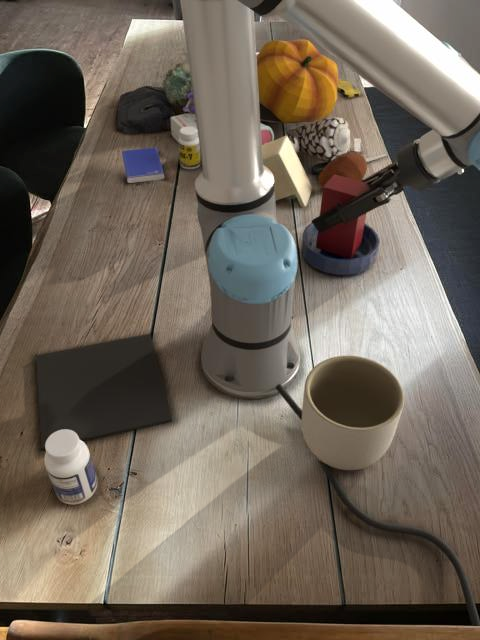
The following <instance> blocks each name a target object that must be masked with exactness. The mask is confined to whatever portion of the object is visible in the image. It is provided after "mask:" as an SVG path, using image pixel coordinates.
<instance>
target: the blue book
mask: <svg viewBox="0 0 480 640" xmlns="http://www.w3.org/2000/svg"><path fill="white" fill-rule="evenodd" d="M158 151H159V150H158V148H157V147H146V148H136V149H129V150H122V151H121V154H122V162H123V166H124V171H125V175H126V182H127V183H128V184H135V183H143V182H151V181H159V180H160V181H161V180H164V179H165V173H164V168H163V165H162V162H161V159H160V154H159V152H158Z"/></svg>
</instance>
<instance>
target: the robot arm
mask: <svg viewBox="0 0 480 640" xmlns="http://www.w3.org/2000/svg"><path fill="white" fill-rule="evenodd" d="M179 2H180V8H181V17H182V24H183V31H184V38H185V45H186V52H187V61H188V65H189V69H190V76H191V84H192V91H193V99H194V106H195V113H196V121H197V128H198V136H199V143H200V159H201V166H202V172H200V173H199V175H198V176H197V177H196V179H195V181H194V189H195V190H194V191H195V196H196V204H197V209H196V213H197V220H198V224H199V226H200V232H201V237H202V243H203V248H204V254H205V260H206V267H207V272H208V279H209V289H210V309H211V325H210V327H209V330H208V333H207V334H206V337H205V339H204V342H203V344H202V349H201V354H200V361H201V369H202V372H203V375H204V377H205V379H206V380H207V381H208V383H209V384H211V386H213V388H215V389H217V391H220V392H221V393H223V394H225V395H227V396H230V397H232V398H233V397H234V398H238V399H243V400H259V399H265V398H269V397H272V396H275V395H277V394H280V395H281V397H282V398H283V399H284V401H285V402H286V403H287V405H288V406H289V407H290V409H291V410H292V411H293V412H294V413H295V414H296V416H297V417H298V418H299V419H300V421H302V408H301V407H299V405H298V404H297V403H296V402H295V400H294V399H293V397H292V396H291V395H290V394H289V392H288V391H287V390H286V389H288V388H289V386H291V385H292V384H293V382H295V380H296V378H297V376H298V374H299V370H300V366H301V365H300V364H301V352H300V346H299V343H298V341H297V339H296V336H295V332H294V330H293V327H292V317H293V310H294V309H293V307H294V297H295V296H294V295H295V285H296V276H297V273H298V263H299V261H298V260H299V259H298V254H297V253H298V252H297V251H298V250H297V245H296V241H295V239H294V237H293V235H292V233H291V232H290V231H289V229H288V228H287V227H286V226H285V225H283V224H282V223H281V222H278V218H277V217H278V216H277V209H276V201H275V187H274V176H273V174H272V172H271V171H270V170H269V169H268V168H267V167H265V166H264V165H263V159H262V143H261V126H260V123H261V120H260V109H259V92H258V75H257V55H256V52H257V44H256V42H257V41H256V25H255V14H257V15H258V16H259V17H261V18H269V17H273V16H278V17H279V18H281V19H282V20H283V21H285V22H286V23H288V24H289V25H290V26H291V27H293V28H294V29H295V30H297V31H298V32H299V33H301V34H302V35H303V36H305V37H306V38H307V39H308V40H310V41H311V42H313V43H314V44H316V45H317V46H318V47H320V48H321V49H323V50H324V51H325V52H327V53H328V54H330V55H331V56H332V57H334V58H335V59H336V60H338V61H339V62H340V63H342V64H343V65H344V66H345V67H347V68H349V69H350V70H351V71H352V72H354V73H355V74H356V75H358V76H359V77H361V78H362V79H364V80H365V81H366V82H367V83H369V84H370V85H372V87H374V88H376V89H377V90H378V91H379V92H381V93H382V94H384V95H385V96H386V97H388V98H389V99H390V100H392V101H393V102H395V103H396V104H397V105H399V106H400V107H401V108H403V109H404V110H405V111H407V112H408V113H409V114H411V115H412V116H413V117H415V118H416V119H418V120H419V121H420V122H422V123H423V124H425V125H426V126H427V127H428V128H430V129H431V130H429V131H428V132H426V133H425V134H423V135H421V136H420V138H417V139H415V140H414V141H412V142H410V143H408V144H407V145H405V146H403V147H402V148H400V149H399V150H398V152H397V155H396V160H395V161H393V162H392V163H390V164H388V165H386V166H384V167H383V168H381V169H380V170H377V171H375V172H374V173H373V174H371V175H369V176H367V177H365V178H363V180H362V181H361V182H364V183H367V184H370V185H371V186H370V188H368V189H367V190H365V191H364V192H362V193H361V194H359V195H357V196H356V197H354V198H353V199H351V200H350V201H348V202H346V203H345V204H343V205H342V206H341V205H340V204H339V202H338V203H337V204H336V205H335V207H334V208H333V209H331V210H329V211H327V212H326V213H324V214H322V215H320V214H319V216H316V217H315V218H312V219H311V222H312V223H313V225H314V226H315V227H316V229H317V230H318V231H319V233H322V232H323V231H325V230H327V229H329V228H331V227H333V226H335V225H337V224H339V223H340V222H342V221H343V223H344V224H347V223H349V222H350V221H352V220H354V219H356V218H358V217H360V216H362V215H364V214H365V213H366V214H368V213H369V212H371V211H373V210H376V208H379V207H382V206H384V205H387V204H389V203H390V202H391V200H392V199H391V198H392V196H397V195H399V194H401V193H402V192H404V191H405V187H409V188H411V189H412V190H415V191H417V192H421V191H424V190H427V189H428V188H430V187H432V186H435V185H436V184H438V183H440V182H441V181H442V180H445V179H447V178H449V177H451V176H453V175H454V174H456V173H457V174H458V175H462V174H463V173H464V172H465V170H464V169H467V168H469V167H471V166H474V167H475V168H476V169H477V170H478V171H480V73H479V72H478V71H477V70H476V69H475V68H474V67H473V66H471V65H470V64H469V62H467V61H466V59H465V58H464V57H463V56H462V53H460V52H459V51H457V50H455V49H454V48H453V47H452V45H450V44H449V43H448V42H446V41H440V40H439V39H438V38H437V37H435V36H434V35H433V34H432V33H431V32H429V31H428V30H427V29H426V28H425V27H424V26H423V25H421V24H420V23H419V22H418V21H417V20H416V19H414V18H413V17H412V15H410V14H409V13H407V11H405V10H404V9H403V8H402V7H401V6H399V4H397V3H396V2H394V1H393V0H179ZM311 222H310V223H311ZM318 460H319V459H318ZM319 463H320V465H321V468H322V470H323V472H324V473H325V475H326V478H327V479H328V481H329V483H330V484H331V486H332V487H333V489H334V491H335V493H336V495H337V496H338V498H339V499H340V501H341V502H342V503H343V505H344V506H345V507H346V508H347V509H348V510H349V512H350V513H352V514H353V515H354V516H355V517H356V518H357V519H359V520H360V521H362V522H363V523H365V524H366V525H368V526H370V527H372V528H375V529H378V530H380V531H385V532H388V533H396V534H405V535H412V536H416V537H420V538H422V539H425V540H427V541H429V542H431V543H432V544H433V545H435V546H436V547H438V548H439V550H440V551H442V552H443V554H444V555H445V556H446V557H447V558H448V560H449V561H450V563H451V564H452V566H453V568H454V570H455V572H456V574H457V577H458V580H459V584H460V586H461V591H462V594H463V598H464V602H465V606H466V610H467V612H468V617H469V620H470V624H471V625H472V626H473V627H474V626H480V616H479V614H478V610H477V607H476V603H475V599H474V596H473V592H472V591H473V590H472V588H471V584H470V581H469V578H468V576H467V572H466V570H465V568H464V566H463V564H462V562H461V560H460V558H459V556H458V555H457V554H456V553H455V551H454V550H453V548H451V547H450V545H448V543H446V542H445V540H443V539H442V538H441V537H439V536H438V535H436V534H435V533H433V532H431V531H429V530H426V529H424V528H421V527H418V526H417V527H416V526H411V525H404V524H397V523H396V524H395V523H389V522H385V521H381V520H378V519H376V518H374V517H372V516H370V515H368V514H367V513H366V512H364V511H363V510H362V509H361V508H359V507H358V506H357V505H356V504H355V503H354V502H353V501H352V500H351V498H350V497H349V496H348V494H347V493H346V492H345V490H344V488H343V487H342V485H341V483H340V482H339V479H338V478H337V476H336V475H335V473H334V471H333V470H332V467H331V466H329V465H327V464H325V463H324V462H322V461H321V460H319Z"/></svg>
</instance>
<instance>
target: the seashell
mask: <svg viewBox="0 0 480 640" xmlns="http://www.w3.org/2000/svg"><path fill="white" fill-rule="evenodd" d="M285 134H286V136H288V138H289V140H290V141H291V142H292V143H293V144H295V141H294V138H296V139H297V141H298V144H299V151H298V152H299V153H301V154H303V155H306V156H309V157H311V158H313V159H315V160H318V161H321V162H331V161H332V160H333V159H335V158H336V157H337V156H339V155H341V154H344V153H348V151H347V148H348V146H349V144H350V145H351V128H350V125H349V123H348V121H347V120H345V118H342V117H337V116H331V117H326V118H323V119H321V120H318V121H314V122H308V123H307V124H303V125H301V126H298V127H295V128H291V129H290V128H289V129H287V130H286V131H285Z"/></svg>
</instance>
